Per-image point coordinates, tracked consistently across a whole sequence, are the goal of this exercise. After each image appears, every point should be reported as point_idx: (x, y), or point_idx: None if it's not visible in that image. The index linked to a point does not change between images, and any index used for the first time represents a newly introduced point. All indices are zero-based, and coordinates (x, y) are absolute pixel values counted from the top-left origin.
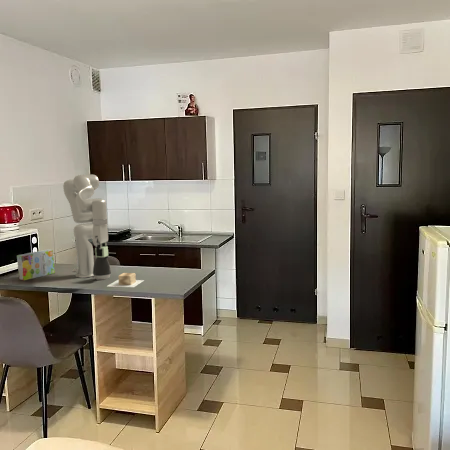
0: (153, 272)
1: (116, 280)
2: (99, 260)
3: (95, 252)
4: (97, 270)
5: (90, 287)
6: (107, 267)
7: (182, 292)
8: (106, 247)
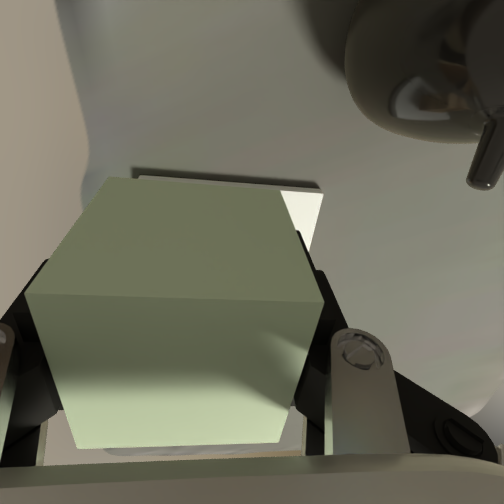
0: (487, 304)
1: (300, 192)
2: (462, 55)
3: (79, 220)
4: (372, 26)
5: (139, 31)
6: (408, 134)
7: (134, 450)
8: (214, 435)
